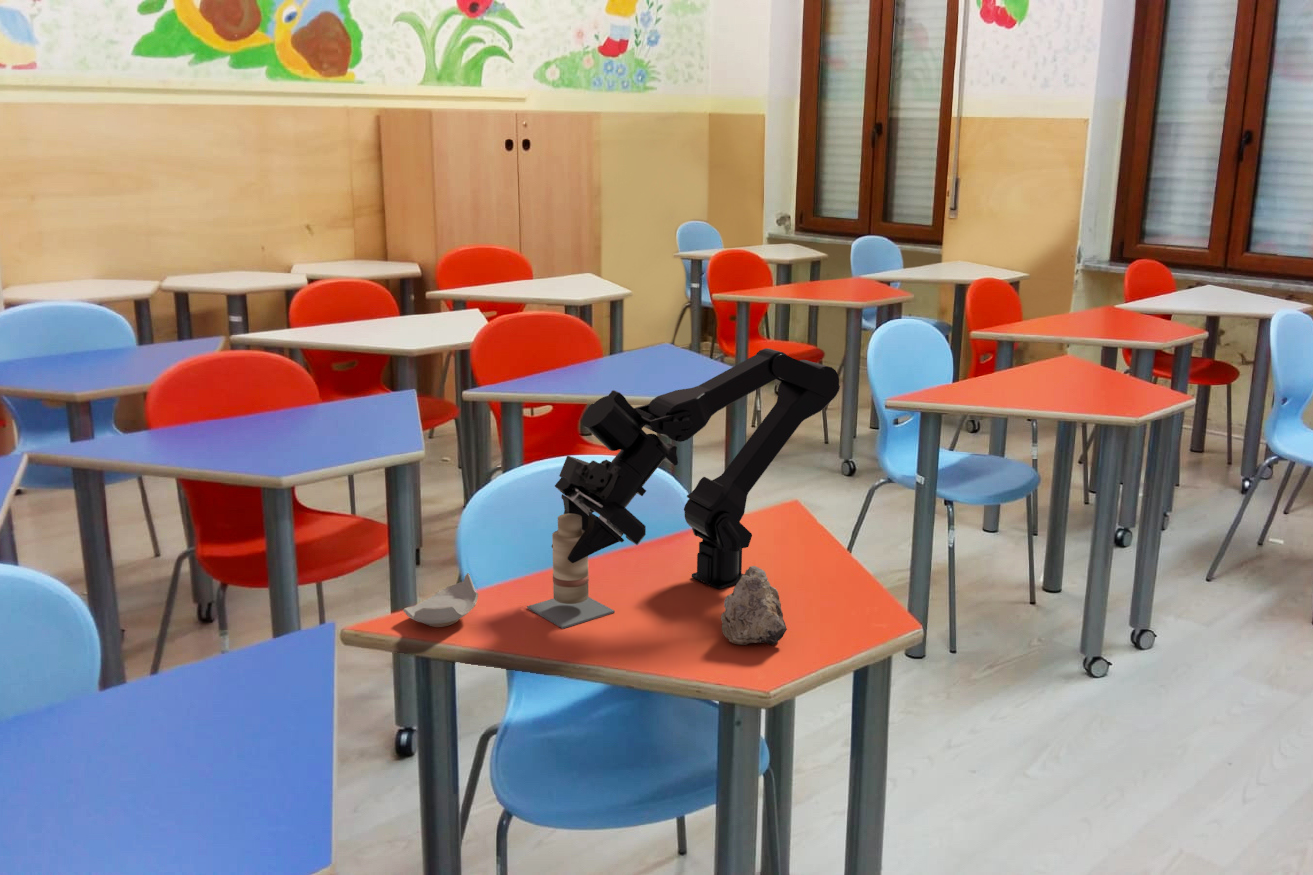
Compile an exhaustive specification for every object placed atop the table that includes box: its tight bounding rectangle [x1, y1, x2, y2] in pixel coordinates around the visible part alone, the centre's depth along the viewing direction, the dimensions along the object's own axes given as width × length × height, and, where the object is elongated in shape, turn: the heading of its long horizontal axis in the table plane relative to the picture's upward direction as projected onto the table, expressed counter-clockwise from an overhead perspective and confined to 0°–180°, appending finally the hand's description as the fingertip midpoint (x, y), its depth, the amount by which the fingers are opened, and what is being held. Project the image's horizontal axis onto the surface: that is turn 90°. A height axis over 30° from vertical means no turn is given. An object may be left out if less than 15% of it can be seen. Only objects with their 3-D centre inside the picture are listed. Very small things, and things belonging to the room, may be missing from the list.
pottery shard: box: [402, 573, 479, 628], centre depth 155 cm, size 10×11×5 cm
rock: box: [720, 565, 788, 646], centre depth 151 cm, size 8×11×9 cm
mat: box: [526, 596, 615, 630], centre depth 160 cm, size 9×9×1 cm
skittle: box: [551, 513, 590, 604], centre depth 158 cm, size 5×5×12 cm
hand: (561, 555), depth 157 cm, fingers closed on skittle, 5 cm apart
